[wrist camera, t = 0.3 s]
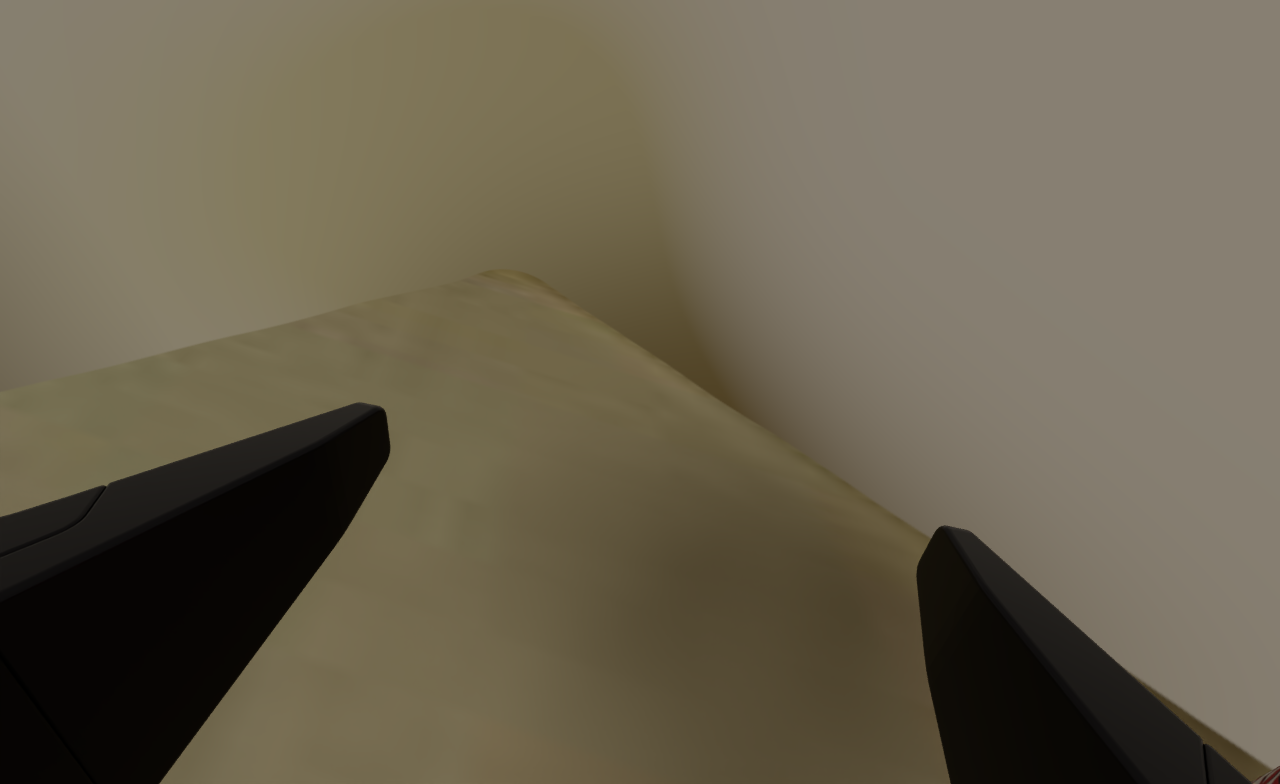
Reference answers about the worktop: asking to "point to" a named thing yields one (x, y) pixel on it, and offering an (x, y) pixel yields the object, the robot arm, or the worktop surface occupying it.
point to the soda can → (1269, 777)
